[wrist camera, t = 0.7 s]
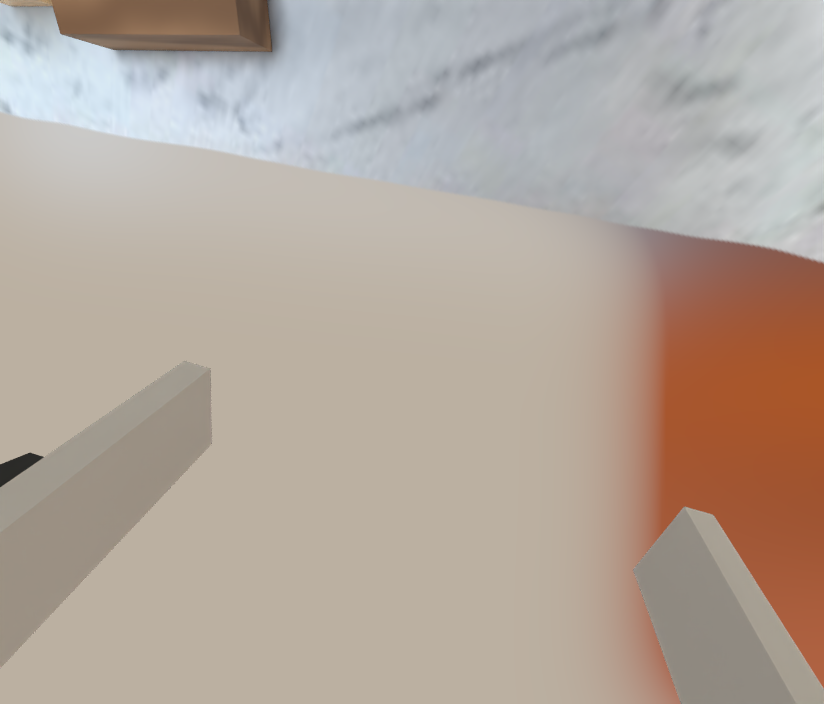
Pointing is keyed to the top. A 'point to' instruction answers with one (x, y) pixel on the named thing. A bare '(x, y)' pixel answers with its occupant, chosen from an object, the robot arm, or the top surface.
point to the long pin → (27, 2)
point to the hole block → (167, 24)
